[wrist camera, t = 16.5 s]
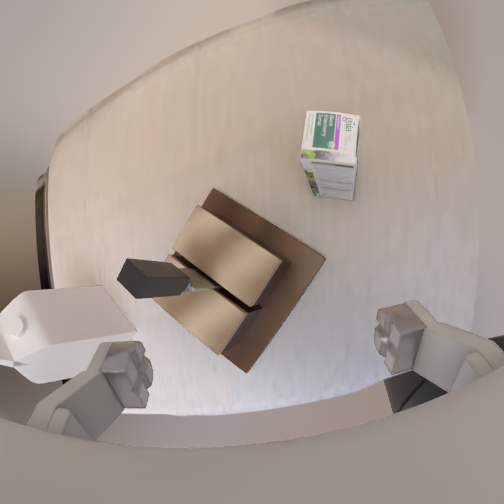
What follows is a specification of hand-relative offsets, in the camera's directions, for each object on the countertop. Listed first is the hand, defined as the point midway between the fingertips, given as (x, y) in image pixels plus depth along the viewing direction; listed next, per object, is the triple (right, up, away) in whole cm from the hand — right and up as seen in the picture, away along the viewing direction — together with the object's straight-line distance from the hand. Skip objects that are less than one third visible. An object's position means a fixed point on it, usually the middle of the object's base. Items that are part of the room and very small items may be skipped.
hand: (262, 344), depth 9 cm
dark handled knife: (-6, 0, +28) cm, 28 cm away
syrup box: (+12, +13, +31) cm, 35 cm away
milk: (-28, -12, +42) cm, 52 cm away
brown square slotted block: (-3, -1, +34) cm, 34 cm away
